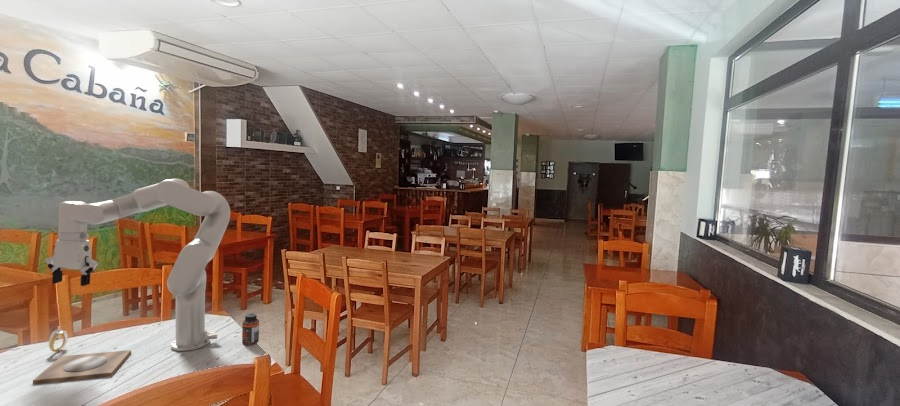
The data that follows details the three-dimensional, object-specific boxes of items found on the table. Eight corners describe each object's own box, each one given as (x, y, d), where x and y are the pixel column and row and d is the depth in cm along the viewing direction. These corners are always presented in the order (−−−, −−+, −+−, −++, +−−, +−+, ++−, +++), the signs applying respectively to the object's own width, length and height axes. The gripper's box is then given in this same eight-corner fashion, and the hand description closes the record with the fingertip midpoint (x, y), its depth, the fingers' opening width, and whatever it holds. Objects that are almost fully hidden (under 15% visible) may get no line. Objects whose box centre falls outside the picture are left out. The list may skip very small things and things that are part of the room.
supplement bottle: (238, 343, 164) (238, 315, 163) (251, 338, 170) (251, 311, 169) (250, 347, 162) (250, 318, 161) (262, 341, 168) (262, 313, 167)
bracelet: (54, 355, 148) (53, 333, 147) (45, 355, 147) (44, 333, 147) (71, 347, 155) (71, 326, 154) (62, 347, 154) (62, 325, 154)
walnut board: (131, 353, 152) (131, 349, 152) (111, 376, 136) (111, 371, 136) (61, 359, 145) (61, 355, 145) (32, 384, 129) (32, 379, 129)
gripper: (106, 237, 152) (104, 283, 153) (57, 232, 151) (55, 278, 153) (89, 240, 145) (87, 288, 146) (37, 235, 144) (36, 284, 145)
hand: (71, 283), depth 149 cm, fingers open, 9 cm apart
